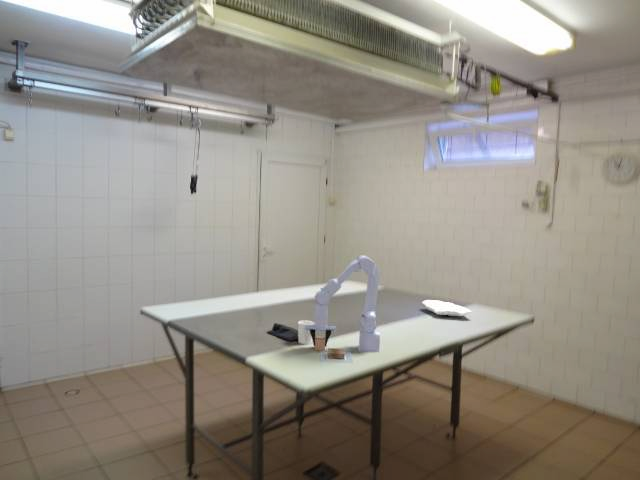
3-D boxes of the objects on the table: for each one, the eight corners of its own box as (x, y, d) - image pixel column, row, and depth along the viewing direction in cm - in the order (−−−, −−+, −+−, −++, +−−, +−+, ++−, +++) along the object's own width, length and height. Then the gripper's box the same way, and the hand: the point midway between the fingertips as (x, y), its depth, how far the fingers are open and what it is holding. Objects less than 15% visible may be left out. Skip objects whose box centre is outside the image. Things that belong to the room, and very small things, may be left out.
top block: (324, 347, 217) (325, 337, 217) (324, 350, 212) (325, 339, 212) (314, 347, 217) (315, 336, 216) (314, 350, 212) (315, 339, 212)
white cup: (313, 340, 228) (314, 320, 227) (313, 345, 220) (314, 324, 219) (297, 340, 228) (298, 320, 227) (296, 344, 220) (297, 324, 219)
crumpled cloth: (458, 322, 273) (460, 306, 273) (409, 309, 299) (412, 295, 299) (477, 322, 289) (480, 308, 289) (430, 310, 315) (432, 297, 315)
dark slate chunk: (286, 344, 222) (287, 334, 221) (264, 332, 240) (265, 323, 239) (313, 340, 230) (313, 330, 230) (290, 329, 248) (290, 320, 248)
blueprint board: (350, 352, 211) (350, 351, 211) (353, 363, 197) (353, 362, 197) (319, 351, 211) (319, 350, 211) (320, 362, 197) (320, 361, 197)
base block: (343, 354, 208) (343, 348, 208) (344, 359, 201) (344, 353, 201) (327, 353, 208) (328, 348, 208) (328, 358, 201) (328, 353, 201)
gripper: (305, 318, 209) (304, 347, 210) (337, 319, 210) (336, 349, 211) (305, 314, 216) (304, 343, 217) (336, 315, 217) (335, 344, 218)
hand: (319, 345), depth 215 cm, fingers closed on top block, 4 cm apart
